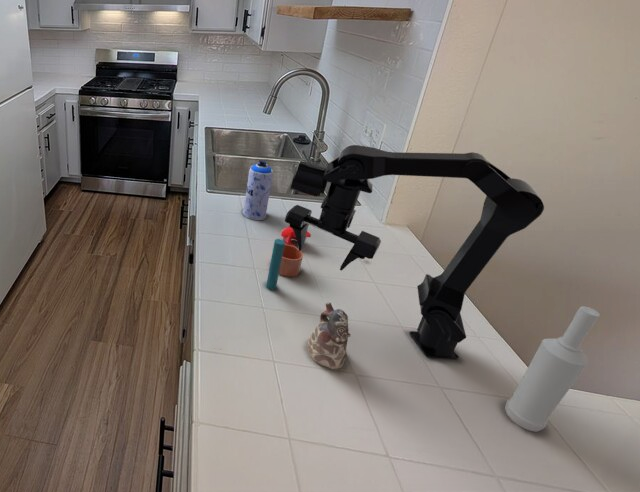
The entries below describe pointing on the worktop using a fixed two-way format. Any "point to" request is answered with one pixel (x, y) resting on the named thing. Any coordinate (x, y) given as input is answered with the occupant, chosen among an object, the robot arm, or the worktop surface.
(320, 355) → the figurine
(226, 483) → the worktop surface
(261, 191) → the aerosol can
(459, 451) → the worktop surface
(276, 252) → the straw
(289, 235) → the red toy animal
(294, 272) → the tumbler
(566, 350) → the bottle
